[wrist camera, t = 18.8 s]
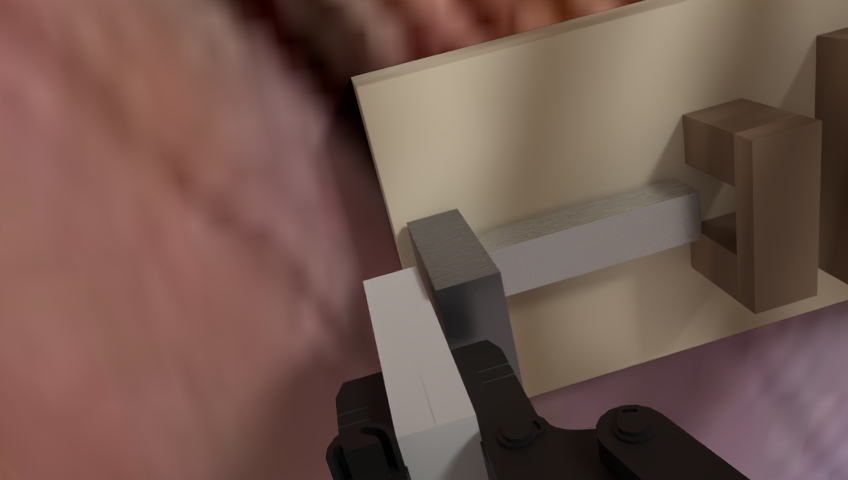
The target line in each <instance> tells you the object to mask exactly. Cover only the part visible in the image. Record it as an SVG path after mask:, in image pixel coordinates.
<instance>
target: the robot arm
mask: <svg viewBox="0 0 848 480" xmlns="http://www.w3.org/2000/svg"><path fill="white" fill-rule="evenodd" d="M363 283H364V288H365V293H366V298H367V302H368V307H369V312H370V316H371V321H372V326H373V331H374V335H375V340H376V345H377V349H378V354H379V359H380V363H381V368H382V372H379V373H376V374H372V375H369V376H365V377H362V378H359V379H355V380H352V381H348V382H345V383H343V384H342V386H341V389H340V391H339V393H338V395H337V397H336V408H337V416H338V417H337V419H338V427H339V429H338V430H339V435H338V436H336V437H335V438H334V440H333V441H332V442H331V444H330V445H329V447H328V449H327V453H326V460H327V463H328V466H329V469H330V471H331V474H332V477H333V479H334V480H750V479H748V478H747V477H746V476H744V475H743V474H742V473H740V472H739V471H738V470H736V469H735V468H734V467H732V466H731V465H730V464H728V463H727V462H726V461H724V460H723V459H722V458H720V457H719V456H718V455H716V454H715V453H714V452H712V451H711V450H710V449H708V448H707V447H706V446H704V445H703V444H702V443H700V442H699V441H698V440H696V439H695V438H694V437H692V436H691V435H689V434H688V433H687V432H685V431H684V430H683V429H681V428H680V427H679V426H677V425H676V424H675V423H673V422H672V421H671V420H669V419H668V418H667V417H665V416H664V415H663V414H661V413H659V412H657V411H655V410H653V409H652V408H649V407H644V406H639V405H625V406H620V407H617V408H614V409H611V410H609V411H607V412H606V413H605V414H604V415H602V416H601V417H600V419H599V421H598V423H597V425H596V429H586V430H566V429H561V428H557V427H554V426H552V425H550V424H549V423H548V422H547V421H546V420H545V419H544V418H542V417H540V416H538V415H537V413H536V412H535V410H534V408H533V406H532V404H531V402H530V401H529V399H528V397H527V395H526V393H525V391H524V389H523V388H522V386H521V384H520V382H519V380H518V378H517V377H516V375H515V374H514V371H513V369H512V367H511V365H510V364H509V362H508V360H507V358H506V356H505V354H504V352H503V351H502V349H501V348H500V347H498V346H497V345H495V344H493V343H492V342H490V341H489V340H487V339H486V340H483V341H479V342H476V343H473V344H469V345H466V346H462V347H459V348H456V349H452V350H450V349H449V347H448V344H447V342H446V339H445V337H444V334H443V332H442V329H441V327H440V324H439V322H438V319H437V317H436V314H435V312H434V310H433V307H432V305H431V302H430V300H429V297H428V295H427V292H426V290H425V287H424V285H423V282H422V280H421V277H420V275H419V272H418V270H417V267H416V266H414V267H411V268H407V269H404V270H400V271H397V272H393V273H390V274H386V275H383V276H379V277H375V278H372V279H368V280H365V281H363Z"/></svg>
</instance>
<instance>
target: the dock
mask: <svg viewBox="0 0 848 480" xmlns="http://www.w3.org/2000/svg"><path fill="white" fill-rule="evenodd" d="M351 80H352V83H353V87H354V91H355V95H356V98H357V102H358V106H359V109H360V113H361V117H362V121H363V124H364V128H365V132H366V136H367V139H368V143H369V147H370V150H371V154H372V158H373V162H374V165H375V169H376V173H377V177H378V180H379V184H380V188H381V191H382V195H383V199H384V203H385V206H386V210H387V214H388V218H389V221H390V225H391V229H392V233H393V236H394V240H395V244H396V247H397V251H398V255H399V259H400V262H401V266H402V270H404V269H407V268H411V267H414V266H416V267H417V270H418V266H417V262H416V258H415V254H414V251H413V247H412V243H411V239H410V235H409V231H408V227H407V222H411V221H414V220H418V219H422V218H425V217H429V216H432V215H436V214H439V213H443V212H446V211H450V210H454V209H458V210H459V212H460V213H461V215H462V216H463V218H464V219H465V221H466V222H467V224H468V225H469V227H470V228H471V229H472V231H473V232H474V234H479V233H482V232H486V231H489V230H493V229H497V228H500V227H504V226H507V225H511V224H514V223H518V222H521V221H525V220H528V219H532V218H535V217H539V216H542V215H546V214H549V213H553V212H556V211H560V210H563V209H567V208H570V207H574V206H577V205H581V204H584V203H588V202H591V201H595V200H598V199H602V198H605V197H609V196H612V195H616V194H619V193H623V192H626V191H630V190H633V189H637V188H640V187H644V186H647V185H651V184H655V183H658V182H662V181H665V180H669V179H672V178H676V179H678V180H679V181H681V182H683V183H685V184H687V185H689V186H691V187H692V188H694V189H696V190H698V191H699V194H700V213H701V232H702V239H700V240H697V241H693V242H690V243H687V244H683V245H680V246H676V247H673V248H670V249H666V250H663V251H659V252H656V253H653V254H649V255H646V256H642V257H639V258H635V259H632V260H629V261H625V262H622V263H618V264H615V265H612V266H608V267H605V268H601V269H598V270H595V271H591V272H588V273H584V274H581V275H578V276H574V277H571V278H567V279H564V280H561V281H557V282H554V283H550V284H547V285H543V286H540V287H537V288H533V289H530V290H526V291H523V292H520V293H516V294H513V295H509V296H506V302H507V307H508V312H509V317H510V323H511V328H512V333H513V338H514V343H515V348H516V353H517V358H518V363H519V368H520V373H521V378H522V383H523V388H524V391H525V393H526V395H527V397H528V398H529V397H533V396H536V395H539V394H542V393H546V392H549V391H552V390H555V389H559V388H562V387H565V386H568V385H572V384H575V383H578V382H581V381H585V380H588V379H591V378H594V377H598V376H601V375H604V374H608V373H611V372H614V371H617V370H621V369H624V368H627V367H630V366H634V365H637V364H640V363H643V362H647V361H650V360H653V359H656V358H660V357H663V356H666V355H669V354H673V353H676V352H679V351H683V350H686V349H689V348H692V347H696V346H699V345H702V344H705V343H709V342H712V341H715V340H718V339H722V338H725V337H728V336H731V335H735V334H738V333H741V332H744V331H748V330H751V329H754V328H757V327H761V326H764V325H767V324H771V323H774V322H777V321H780V320H784V319H787V318H790V317H793V316H797V315H800V314H803V313H806V312H810V311H813V310H816V309H819V308H823V307H826V306H829V305H832V304H836V303H839V302H842V301H846V300H848V0H645V1H641V2H637V3H633V4H630V5H626V6H622V7H618V8H614V9H611V10H607V11H603V12H599V13H595V14H591V15H588V16H584V17H580V18H576V19H572V20H569V21H565V22H561V23H557V24H553V25H549V26H546V27H542V28H538V29H534V30H530V31H526V32H523V33H519V34H515V35H511V36H507V37H504V38H500V39H496V40H492V41H488V42H484V43H481V44H477V45H473V46H469V47H465V48H461V49H458V50H454V51H450V52H446V53H442V54H439V55H435V56H431V57H427V58H423V59H419V60H416V61H412V62H408V63H404V64H400V65H397V66H393V67H389V68H385V69H381V70H377V71H374V72H370V73H366V74H362V75H358V76H354V77H351ZM418 272H419V270H418ZM419 275H420V274H419Z"/></svg>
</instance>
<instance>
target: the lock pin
mask: <svg viewBox="0 0 848 480" xmlns="http://www.w3.org/2000/svg"><path fill="white" fill-rule="evenodd" d="M407 227H408V231H409V235H410V239H411V243H412V247H413V251H414V254H415V258H416V262H417V266H418V270H419V274H420V277H421V280H422V282H423V285H424V287H425V290H426V292H427V295H428V297H429V300H430V302H431V305H432V307H433V310H434V312H435V314H436V317H437V319H438V322H439V324H440V327H441V329H442V332H443V334H444V337H445V339H446V342H447V344H448V347H449V349H450V350H452V349H456V348H459V347H462V346H466V345H469V344H473V343H476V342H479V341H483V340H486V339H487V340H489V341H490V342H492V343H493V344H495V345H497V346H498V347H500V348H501V349H502V351H503V352H504V354H505V356H506V358H507V360H508V362H509V364H510V365H511V367H512V369H513V371H514V374H515V375H516V377H517V378H518V380H519V382H520V384H521V386H522V388H523V383H522V378H521V373H520V368H519V363H518V358H517V353H516V348H515V343H514V338H513V333H512V328H511V323H510V317H509V312H508V307H507V302H506V296H509V295H513V294H516V293H520V292H523V291H526V290H530V289H533V288H537V287H540V286H543V285H547V284H550V283H554V282H557V281H561V280H564V279H567V278H571V277H574V276H578V275H581V274H584V273H588V272H591V271H595V270H598V269H601V268H605V267H608V266H612V265H615V264H618V263H622V262H625V261H629V260H632V259H635V258H639V257H642V256H646V255H649V254H653V253H656V252H659V251H663V250H666V249H670V248H673V247H676V246H680V245H683V244H687V243H690V242H693V241H697V240H700V239H702V232H701V213H700V194H699V191H698V190H696V189H694V188H692V187H691V186H689V185H687V184H685V183H683V182H681V181H679V180H678V179H676V178H672V179H669V180H665V181H662V182H658V183H655V184H651V185H647V186H644V187H640V188H637V189H633V190H630V191H626V192H623V193H619V194H616V195H612V196H609V197H605V198H602V199H598V200H595V201H591V202H588V203H584V204H581V205H577V206H574V207H570V208H567V209H563V210H560V211H556V212H553V213H549V214H546V215H542V216H539V217H535V218H532V219H528V220H525V221H521V222H518V223H514V224H511V225H507V226H504V227H500V228H497V229H493V230H489V231H486V232H482V233H479V234H474V232H473V231H472V229H471V228H470V227H469V225H468V224H467V222H466V221H465V219H464V218H463V216H462V215H461V213H460V212H459V210H458V209H454V210H450V211H446V212H443V213H439V214H436V215H432V216H429V217H425V218H422V219H418V220H414V221H411V222H407ZM523 389H524V388H523Z"/></svg>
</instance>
